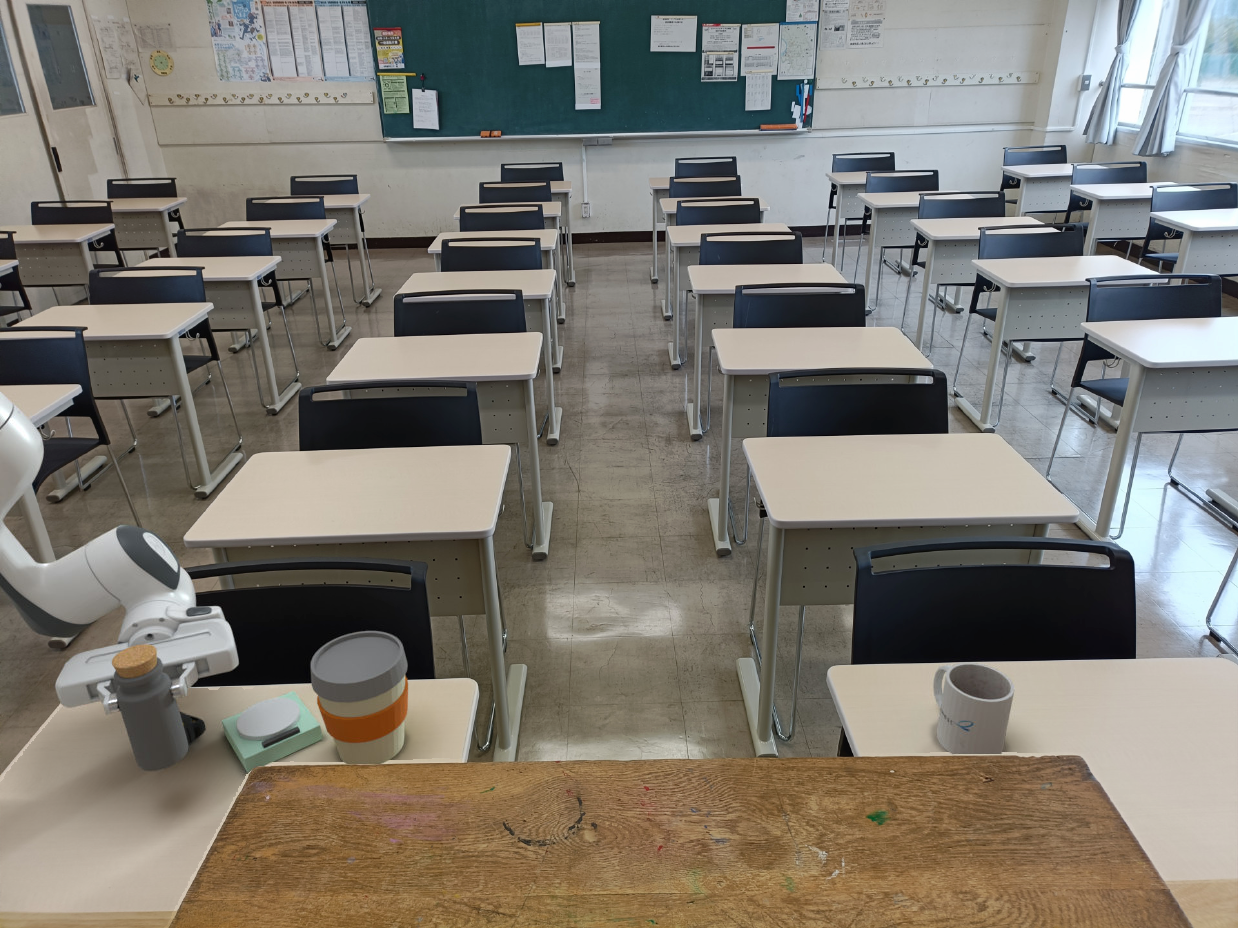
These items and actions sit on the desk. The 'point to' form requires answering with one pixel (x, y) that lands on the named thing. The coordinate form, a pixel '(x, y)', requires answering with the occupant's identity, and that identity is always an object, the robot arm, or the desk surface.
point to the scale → (271, 730)
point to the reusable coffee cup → (363, 695)
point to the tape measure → (192, 727)
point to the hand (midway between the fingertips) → (145, 700)
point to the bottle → (149, 708)
